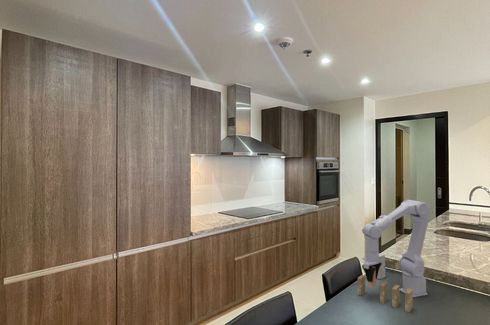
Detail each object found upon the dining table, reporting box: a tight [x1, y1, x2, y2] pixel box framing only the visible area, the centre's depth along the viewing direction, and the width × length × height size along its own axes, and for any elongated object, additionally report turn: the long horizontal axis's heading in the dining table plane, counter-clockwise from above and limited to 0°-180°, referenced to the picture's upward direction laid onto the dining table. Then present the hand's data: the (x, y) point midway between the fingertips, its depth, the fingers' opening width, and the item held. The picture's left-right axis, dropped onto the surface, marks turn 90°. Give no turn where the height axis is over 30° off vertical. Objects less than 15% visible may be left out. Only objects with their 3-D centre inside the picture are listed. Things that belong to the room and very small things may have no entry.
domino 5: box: [404, 288, 414, 313], centre depth 114 cm, size 2×5×8 cm, turn 134°
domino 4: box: [391, 284, 401, 309], centre depth 118 cm, size 2×5×8 cm, turn 134°
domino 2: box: [367, 266, 377, 288], centre depth 125 cm, size 2×5×8 cm, turn 134°
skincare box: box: [376, 252, 386, 280], centre depth 146 cm, size 6×4×12 cm
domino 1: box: [357, 274, 366, 297], centre depth 128 cm, size 2×5×8 cm, turn 134°
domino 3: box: [379, 280, 389, 305], centre depth 121 cm, size 2×5×8 cm, turn 135°
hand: (372, 279), depth 125 cm, fingers closed on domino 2, 5 cm apart
